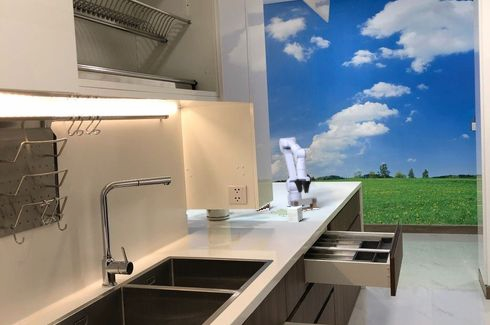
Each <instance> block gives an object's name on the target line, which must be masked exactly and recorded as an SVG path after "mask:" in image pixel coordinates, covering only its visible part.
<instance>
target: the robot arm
mask: <svg viewBox="0 0 490 325" xmlns="http://www.w3.org/2000/svg"><path fill="white" fill-rule="evenodd" d="M278 144H279V150H280V153H282V154H283V155H284V159H285V163H286V168H287V172H288V178H287V180H285V184H286V185H285V186H286V187H285V188H286V191H287V192H288V194H287V205H289V206H291V201H292V200H299V199H303V198H302V193H303V192H304V194H309V190H310V185H311V183H312V180H311V178H310V177H309V176H308V175H307V174H308V173H307V160H306V159H307V154H308V153H307V149H306V148H302V147H301V146H300V145H299V144H298V143H297V139H296V137H295V136H291V137H283V138H279V143H278ZM293 156H294V158H293ZM294 161H295V162H294ZM299 206H301V205H299Z"/></svg>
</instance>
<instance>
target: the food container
mask: <svg viewBox="0 0 490 325" xmlns="http://www.w3.org/2000/svg"><path fill="white" fill-rule="evenodd" d="M266 208H270V209H271V202H270V203H269V204H267V205H266V206H264V207H263V208H261V209H259V210H256V209H255V211H260V210H263V209H266Z"/></svg>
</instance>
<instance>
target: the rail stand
mask: <svg viewBox="0 0 490 325" xmlns="http://www.w3.org/2000/svg"><path fill="white" fill-rule="evenodd" d="M313 202H314V203H312V204H309V206H303V207H302V211H303V210H307V209H313V208H319V209H320V207H318V206H317V204H318V202H317V203H316V199H313ZM292 207H298V202H295V206H292Z"/></svg>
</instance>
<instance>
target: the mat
mask: <svg viewBox="0 0 490 325" xmlns="http://www.w3.org/2000/svg"><path fill="white" fill-rule="evenodd" d="M279 209H280V210H278V209H276V210H277V211H271V210H270V211H271V212H273V213H276V214H279V215H278V216H280V215H283V216H282V217H285V216H284V215H288V214H287V209H285V208H279ZM273 213H272V214H273ZM276 214H275V215H276Z"/></svg>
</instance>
